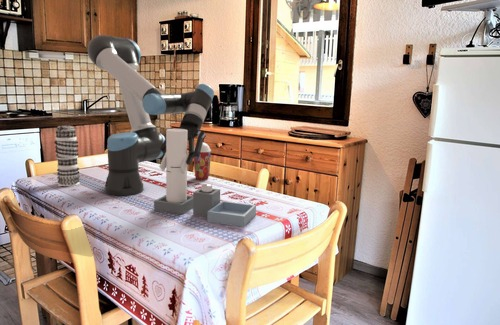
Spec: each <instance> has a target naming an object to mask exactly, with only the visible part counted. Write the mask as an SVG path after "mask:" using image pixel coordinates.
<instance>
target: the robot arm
mask: <svg viewBox="0 0 500 325" xmlns="http://www.w3.org/2000/svg"><path fill="white" fill-rule="evenodd" d="M87 55H88V57H89V59H90V61H91V62H92V63H93V64H94V66H96V67H97V68H99V69H100V70H102V71H103V70H104V71H105V72H107V73H108V74H109V75H110V76H111V77H112V78H114V79H115V80H116V81H117V82H118V85H119V86H118V87H119V89H120V92H121V96H122V100H123V103H124V106H125V109H126V110H125V111H126V113H127V116H128V120H129V123H130V127H131V128H130V131H125V132H118V133H113V134H112V135H110V136H109V137H108V138H107V144H106V145H107V146H106V149H107V162H108V164H107V165H108V168H107V169H108V175H107V177H106V181H105V184H104V193H105V194H107V195H111V196H129V195H137V194H140V193H142V192H143V191H144V188H145V187H144V183H143V180H142V177H141V174H140V168H139V165H140V164H139V163H144V162H149V161H153V160H156V159H159V158H160V160H161V161H160V165H159V168H160V170H161V171H162V172H165V170H166V138H165V137H166V136H164V134H162V133H160V132H158V129H157V126H156V125H155V124H153V123H152V120H151V116H150V115H153V116H160V115H167V114H168V115H170V114H171V115H179V114H183V113H184V114H183V116H182V118H181V121H180V126H179V127H177V129H186V130H188V133H187V142H188V151H187V154H186V155H185V158H184V160H183V163H182V165H181V168H180V170H181V172H182V174H185V171H186V169H187V170H188V166H190V165H191V164H192V161H193V160H194V157H199V156H200V151H201V147H202V143H203V142H204V140H205V138H206V137H207V134H206V133H205V131H204V130H201V129H202V127H203V123H204V122H205V119H206V117H207V114H208V111H209V109H210V106H211V104H212V103H213V98H214V97H215V90H214V89H213V88H212V87H211V86H210V85H209V84H206V83H200V84H198V85H197V86H196V87H195V88H194V90H193V91H188V92H183V93H163V92H161V90H159V89H158V88H157V87H155V85H153V84H152V83H151V82H150V81H149V80H147V79H146V78H145V77H143V75H141V74H140V73H139V72H138V69H139V67H140V65H139V63H140V62H141V58H142V52H141V49H140V47H139V45H138V44H137V43H136V41H134V40H133V39H130V38H127V37H119V36H118V37H117V36H113V35H106V34H98V35H96V36H94V37H92V38H91V39H90V40H89V42H88V45H87ZM170 129H174V128H173V127H170ZM195 138H196V139H197V140H196V144H195ZM195 146H196V147H195ZM194 148H195V150H194Z"/></svg>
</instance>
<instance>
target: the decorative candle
mask: <svg viewBox="0 0 500 325" xmlns="http://www.w3.org/2000/svg"><path fill="white" fill-rule="evenodd" d="M76 131H77V129H76V128H75V127H74V126H73V125H58V126H57V127H56V129H55V140H54V142H53V143H54V144H55V146H54V149H55V151H54V152H55V153H56V154H55V157H56V159H57V170H56V171H57V183H58V184H57V185H59V186H58V187H60V186H72V187H76V186H75V185H77V186H79V185H81V183H80V181H81V179H80V177H81V176H80V175H79V173H80V171H79V170H80V167H79V163H78V158H79V153H78V152H79V150H78V149H77V148H78V147H79V145H78V144H79V141H78V140H77V138H78V136H77V133H76ZM78 184H79V185H78Z"/></svg>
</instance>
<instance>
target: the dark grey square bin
mask: <svg viewBox="0 0 500 325" xmlns="http://www.w3.org/2000/svg"><path fill="white" fill-rule="evenodd" d="M190 210H193V195H188V194H187V200H186V201H185V202H181V203H173V202H168V201H166V194H165V195H163V196H162V197H161V196H160V197H159V198H157V199H155V200H153V211H155V212H162V213H167V214H168V213H170V214H174V215H175V214H177V215H184V214H186V213H187V212H188V211H190Z"/></svg>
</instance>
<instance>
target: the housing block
mask: <svg viewBox="0 0 500 325" xmlns="http://www.w3.org/2000/svg"><path fill="white" fill-rule="evenodd" d="M192 196H193V208H192V216H198V217H205V218H206V217H207V211H209V210H210V209H212V208H213V207H214V206H216V205H217V204H219V203H220V202H221V189H219V188H212V193H204V192H202V187H200V188H198V189H196V190H195V191H193V193H192Z"/></svg>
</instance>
